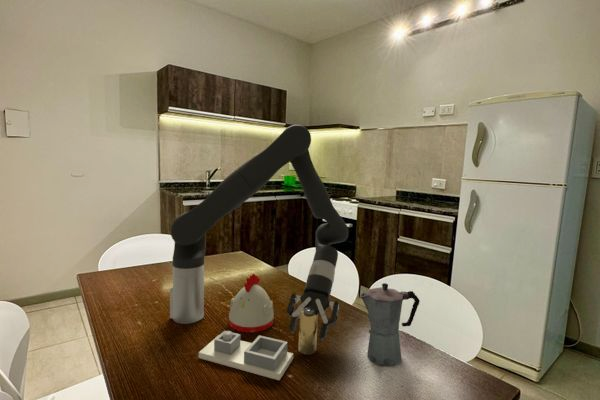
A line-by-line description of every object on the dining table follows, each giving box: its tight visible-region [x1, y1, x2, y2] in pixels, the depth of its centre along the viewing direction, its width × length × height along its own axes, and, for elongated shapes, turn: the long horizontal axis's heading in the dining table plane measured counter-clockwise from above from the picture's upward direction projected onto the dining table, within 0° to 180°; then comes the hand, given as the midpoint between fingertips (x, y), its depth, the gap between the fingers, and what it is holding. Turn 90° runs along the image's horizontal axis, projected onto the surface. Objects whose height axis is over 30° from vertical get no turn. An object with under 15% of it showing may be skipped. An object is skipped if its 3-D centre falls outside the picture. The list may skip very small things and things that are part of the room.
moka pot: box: [359, 282, 421, 367], centre depth 85 cm, size 10×15×20 cm, turn 95°
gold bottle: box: [298, 307, 319, 355], centre depth 87 cm, size 5×5×11 cm
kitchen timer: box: [228, 273, 275, 333], centre depth 101 cm, size 14×14×15 cm
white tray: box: [198, 330, 294, 381], centre depth 82 cm, size 22×9×6 cm, turn 71°
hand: (306, 335), depth 86 cm, fingers open, 7 cm apart
